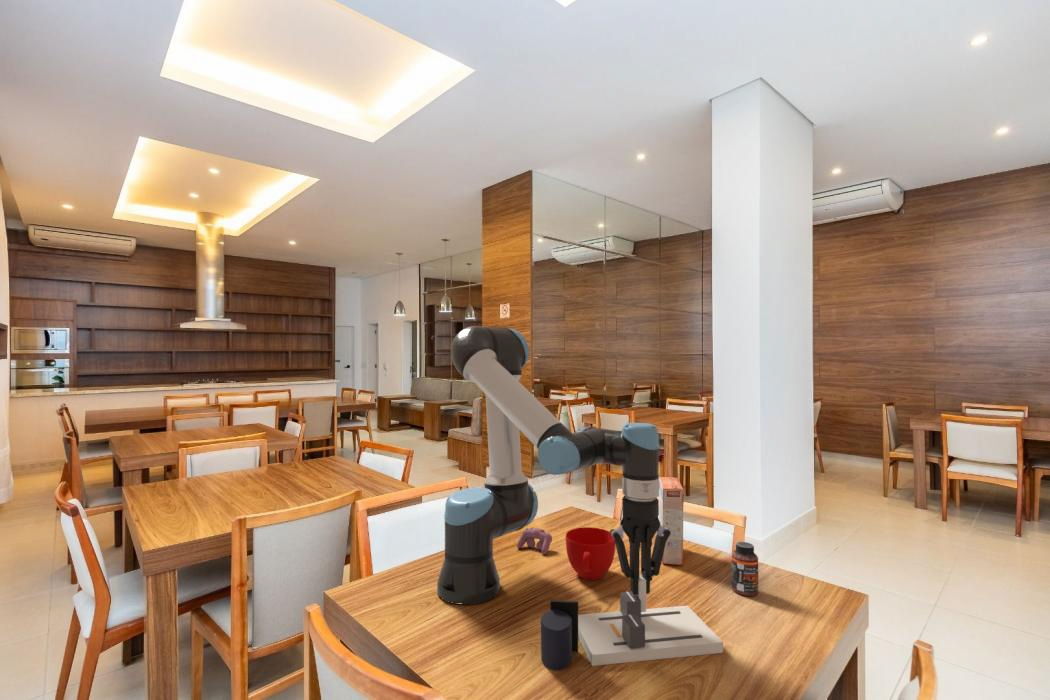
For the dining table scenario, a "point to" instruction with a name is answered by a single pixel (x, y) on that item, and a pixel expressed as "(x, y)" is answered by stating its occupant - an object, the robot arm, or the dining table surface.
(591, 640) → the mixing board
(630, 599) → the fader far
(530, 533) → the purple arched piece
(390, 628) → the dining table surface
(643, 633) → the fader near
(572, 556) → the ceramic cup
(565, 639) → the speaker
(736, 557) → the supplement bottle
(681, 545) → the cracker box
